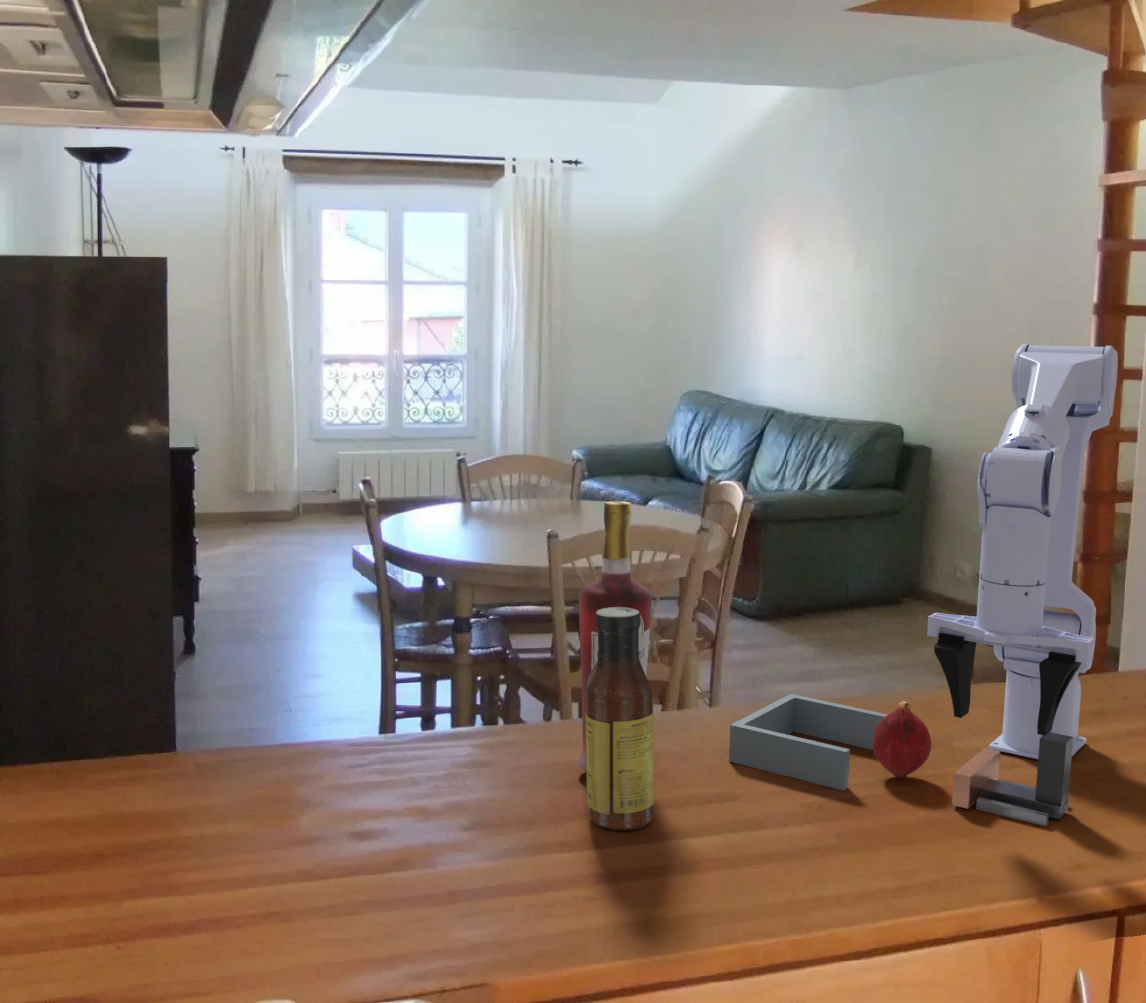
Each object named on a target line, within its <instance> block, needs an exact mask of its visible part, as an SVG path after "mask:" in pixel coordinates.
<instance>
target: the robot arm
mask: <svg viewBox="0 0 1146 1003" xmlns="http://www.w3.org/2000/svg"><path fill="white" fill-rule="evenodd" d="M1118 361H1119V358H1118V351H1117V350H1116V349H1114V346H1113V345H1105V346H1083V345H1082V346H1079V345H1078V346H1077V345H1076V346H1075V345H1044V344H1043V345H1039V344H1034V345H1032V344H1030V343H1022V344H1021V345H1020V347H1018V348H1017V349H1016V351H1015V354H1014V357H1013V363H1012V371H1011V391H1012V396H1013V397H1014V402H1015V405H1016V408H1017V409H1015V410H1014V411H1013V412H1012V413H1011V415H1010V416H1009V417H1008V420H1007V422H1006V423H1005V426H1004V429H1003V432H1002V434H1001V436H1000V439H999V442H998V444H997V446H994V448H993V449H992V451H991V452H988V451H985V452H984V453H983V454H982V456H981V461H980V464H979V469H978V476H977V498H978V506H979V513H978V523H979V524H978V526H979V528H980V529H982V535H981V545H980V546H981V547H980V563H979V577H978V578H979V579H978V592H977V593H978V594H977V608H976V616H972V615H961V614H960V615H959V614H951V613H942V612H935V613H932V614H931V615H928V616H927V619H928V620H927V632H926V635H927V637H931V638H932V637H933V638H938V639H937V642H936V643H935V644H934V645H933V651H934V654H935V657H936V658H937V660H938V662H939V664H940V667H941V670H942V671H943V673H944V676H945V679H946V682H947V685H948V689H949V692H950V698H951V702H952V703H951V704H952V708H953V709H952V710H953V717H954V718H959V719H962V718H963V717H965V716H966V715H967V714H969V712H970V705H971V688H972V687H971V686H972V685H971V684H972V682H971V681H972V671H973V664H974V658H975V653H976V648H977V645H978V644H984V645H988V646H989V645H991V646H993V653H994V655H995V656H996V658H997V660H998V661H999V662H1003V670H1006V680H1005V690H1004V691H1005V692H1004V704H1003V705H1004V706H1003V707H1004V708H1003V719H1002V733H1001V734H1000V735H999V736H998V737H997V738H995V739H994V740H993V741H992V742H991V743H990V744H989V748H988V749H992V750H997V751H1000V752H1001V753H1002V752H1003V753H1009V754H1012V755H1017V756H1021V757H1025V758H1030V759H1034V760H1038V756H1039V742H1040V738H1041V737H1042V736H1043V735H1044V736H1046V735H1047V734H1048V733H1049V732H1052V733H1057V734H1061V735H1066V736H1071V737H1073V745H1072V757H1073V756H1074V755H1075V754H1076V753H1077V752H1078V751H1079V750H1080V749H1081V748H1082V747H1083V746H1084V745H1086V743H1087V738H1086V737H1083V736H1081V735H1080V736H1079V735H1078V733H1079V723H1080V722H1079V720H1080V711H1081V710H1080V708H1081V696H1082V686H1081V681H1080V678H1079V677H1078V676H1079V674H1085V673H1086V672H1087V671H1088V670H1091V668H1092V664H1093V660H1094V654H1095V653H1094V652H1095V645H1096V638H1097V637H1096V634H1097V632H1096V631H1097V624H1096V622H1097V621H1096V616H1097V607H1096V606H1095V602H1094V600H1093V599H1092V598H1091V597H1090V596H1088V594H1086V593H1085V592H1084V591H1083V590H1082V589H1081V588H1079V587H1078V586H1077V585H1076V584H1075V583H1074V582H1073V571H1074V562H1075V561H1074V560H1075V550H1076V542H1077V532H1078V524H1079V523H1078V522H1079V521H1078V520H1079V511H1080V502H1081V491H1082V482H1083V474H1084V473H1083V471H1084V463H1085V455H1086V450H1087V446H1088V443H1089V441H1090V438H1091V436H1092V433H1093V432H1095V431H1097V430H1099V429H1102V428H1105V427H1107V426H1109V425H1110V421H1111V420H1110V419H1111V418H1112V417H1113V413H1114V404H1115V394H1116V388H1117V382H1118V380H1117V379H1118V369H1119V368H1118V367H1119V364H1118V363H1119V362H1118ZM1045 607H1052V608H1059V609H1065V610H1067V609H1068V610H1069V611H1073V612H1074V613H1071V612H1069V613H1068V612H1062V611H1054V610H1045ZM977 643H978V644H977Z"/></svg>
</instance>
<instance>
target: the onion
mask: <svg viewBox="0 0 1146 1003" xmlns="http://www.w3.org/2000/svg"><path fill="white" fill-rule="evenodd" d="M931 738H932V737H931V735H930V732H929V730H928V728H927V726H926V724H925V723H924V721H923V720H922V718H920V717H919V715H917V714H916V713H914V712H912V711H911V704H910V703H909V702H907V701H905V700H902V701H900V702H899V703H898V707H897V708H896V709H895V710H894V711H892V712H890V713H888V715H887V716H885V717H884V718H883V719H882V720H881V721H880V722H879V723H878V725H877V726H876V728H875V731H874V734H873V750H872V751H873V753H874V755H875V758H876V760H877V761H878V762H879V764H880V765H881V766H882V767H883V768H884V769H885V770H886V771H887V772H889V773H890V774H892V776H894V777H895V778H898V779H902V778H903V779H904V778H905V777H906V776H908V775H910V774H912V773H914V772H915V771H917V770H918V769H920V768H921V767H922V766H923V765H924V764H925V763H926V761H927V760H928V759H929V757H930V754H931V752H932V739H931Z"/></svg>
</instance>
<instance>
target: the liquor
mask: <svg viewBox="0 0 1146 1003" xmlns="http://www.w3.org/2000/svg"><path fill="white" fill-rule="evenodd" d="M631 521H632V503H631V502H628V501H618V500H615V501H614V500H611V501H605V502H604V504H603V522H604V523H603V524H604V530H605V537H604V538H605V539H604V545H603V546H604V547H603V553H602V554H603V557H602V562H601V563H602V564H601V565H602V566H601V573H600V574H601V575H600V579H598V580H595V581H593V582H590V583H588V584H587V585H586V586H585V587H584V588H583V589H581V590H579V592H578V602H579V603H578V605H579V608H578V609H579V611H578V612H579V647H580V648H579V649H580V653H579V654H580V670H581V671H580V672H581V673H580V674H581V675H580V676H581V709H582V710H581V712H582V714H581V715H582V718H581V720H582V723H581V724H582V731H581V732H582V753H581V755H580V756H579V758H578V760H577V764H578V766H579V767H580V768H581V769H582V770H583V771H584V773H586V774H587V753H586V711H587V700H586V699H587V698H586V697H587V696H586V687H587V679H588V676H589V674H590V673H591V671H592V669H593V668H594V666H595V664H596V662H597V661H598V656H597V652H598V629H597V627H596V612H597V611H598V610H600V609H604V608H610V607H627V608H631V609H636V610H638V611H639V612H640V623H641V624H640V627H639V630H638V650H639V653H640V654H639V660H640V663H641V665H642V668H643V670H644V673H645V675H646V676H647V669H648V658H649V647H650V637H651V636H650V634H651V633H650V632H651V620H652V605H653V604H652V603H653V593H651V591H650V590H649V589H648V588H646V587H645V586H644V585H643V584H641V583H639V582H636V581H634V580H632V575H631V574H632V573H631V560H630V546H629V530H630V526H631Z"/></svg>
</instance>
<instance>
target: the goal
mask: <svg viewBox="0 0 1146 1003" xmlns="http://www.w3.org/2000/svg"><path fill="white" fill-rule="evenodd" d="M888 714H889V713H888ZM888 714H886V713H883V712H877V711H874V710H869V709H863V708H861V707H860V708H858V707H855V706H849V705H846V704H840V703H835V702H832V701H831V702H830V701H826V700H823V699H818V698H812V697H807V696H802V695H797V694H794V693H789V694H788V695H786V696H784V697H781V698H779V699H778V700H776V701H774V702H772V703H770V704H768V705H767V706H764V707H763V708H760V709H758V710H757V711H755V712H752V713H751V714H749V715H747V716H745V717H743V718H741V719H739V720H737V721H735V722H733V723H731V724H730V726H729V728H730V729H729V750H728V752H729V753H728V762H729V763H735V764H738V765H741V766H742V765H743V766H746V767H750V768H755V769H756V770H761V771H765V772H770V773H774V774H778V775H781V776H786V777H789V778H793V779H797V780H801V781H805V782H809V783H812V784H817V785H819V786H820V785H821V786H824V787H829V788H832V789H836V790H840V791H845V790H847V789H848V788H849V778H850V777H849V775H850V758H851V749H849V748H846V747H842V746H836V745H833V744H829V743H825V742H820V741H816V740H811V739H806V738H802V737H798V736H794V735H790V734H792V733H797V734H802V735H806V736H811V737H814V738H820V739H822V740H823V739H824V740H828V741H831V742H835V743H841V744H845V745H850V746H854V747H857V748H861V749H866V750H871V751H873V734H874V731H875V728H876V726H877V725H878V723H879V722H880V721H881V720H882V719H883V718H884V717H885V716H887V715H888Z"/></svg>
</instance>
